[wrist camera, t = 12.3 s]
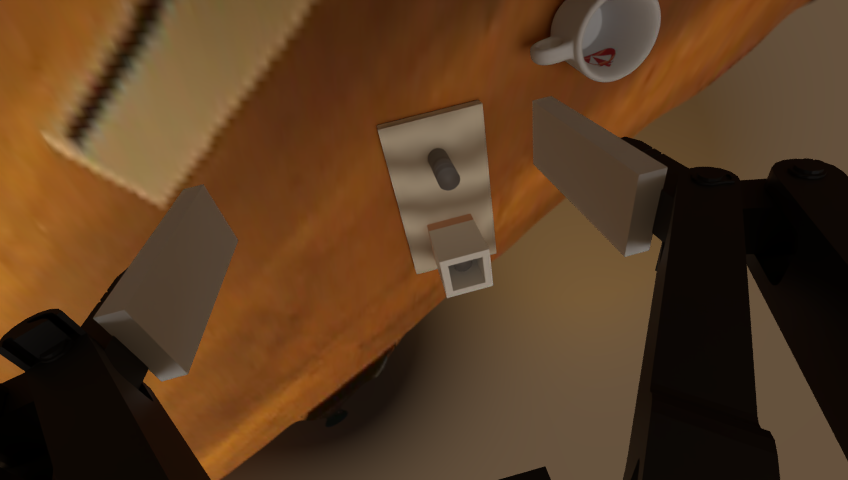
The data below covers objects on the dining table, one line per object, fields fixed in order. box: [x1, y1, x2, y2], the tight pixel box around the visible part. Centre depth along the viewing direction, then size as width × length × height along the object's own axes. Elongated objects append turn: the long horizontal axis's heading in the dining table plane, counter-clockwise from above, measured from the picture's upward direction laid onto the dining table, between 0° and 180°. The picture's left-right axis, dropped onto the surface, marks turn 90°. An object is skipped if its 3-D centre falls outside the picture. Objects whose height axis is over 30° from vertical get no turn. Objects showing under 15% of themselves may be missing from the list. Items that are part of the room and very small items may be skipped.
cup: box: [530, 0, 661, 82], centre depth 37 cm, size 11×8×8 cm
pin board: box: [377, 100, 496, 274], centre depth 47 cm, size 22×12×8 cm, turn 11°
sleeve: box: [427, 214, 493, 298], centre depth 49 cm, size 6×6×8 cm
